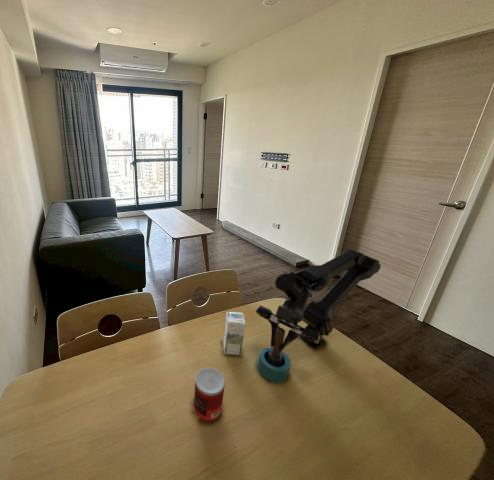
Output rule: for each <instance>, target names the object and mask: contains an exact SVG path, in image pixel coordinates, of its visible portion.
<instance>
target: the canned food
mask: <svg viewBox="0 0 494 480" xmlns="http://www.w3.org/2000/svg"><path fill="white" fill-rule="evenodd" d="M225 383H226V382H225V377H224V375H223V373H222V372H220V370H218V369H216V368H214V367H204V368H202V369H200V370H198V371H197V373H196V375H195V380H194V393H193V394H194V395H193V409H194V412H195V415H196V416H197V417H198V418H199V419H200V420H201V421H204V422H213V421H215V420H217V419H218V418H219V416H220V415H221V412H222V409H223V400H224V394H225V386H226V385H225Z"/></svg>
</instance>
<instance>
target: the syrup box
mask: <svg viewBox="0 0 494 480" xmlns="http://www.w3.org/2000/svg"><path fill="white" fill-rule="evenodd" d="M246 325H247V324H246V321H245V315H244V312H238V311H226V315H225V322H224V332H223V340H222V345H223V353H224V355H230V356H241V355H242V349H243V343H244V337H245V330H246Z"/></svg>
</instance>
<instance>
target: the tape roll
mask: <svg viewBox="0 0 494 480" xmlns="http://www.w3.org/2000/svg"><path fill="white" fill-rule="evenodd" d="M272 350H273V347H271V346H268V347H264V348H262V349H261V350H260V352H259V355H258V360H257V370H258V372H259V374H260V375H261V376H262V377H263V379H266V380H267V381H268V382H269V381H270V382H271V383H282V382H283V383H284V382H285V381H286V380H287V379H288V375H289V373H290V368H291V366H292V365H291V359H290V358H289V356H288V354H286V353H285V352H284V350H282V351H281V354H282V362H281V365H280V366H279V367H275V366H272V365H270V364H269V363H268V356H269V352H270V351H272Z"/></svg>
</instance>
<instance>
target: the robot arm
mask: <svg viewBox="0 0 494 480" xmlns="http://www.w3.org/2000/svg"><path fill="white" fill-rule="evenodd" d="M381 267H382V266H381V264H380V260H379V259H377V258H374V257H372V256H368V255H367V254H365V253H362V252H361V251H358V250H355V249H353V248H347V249H346V250H345V251H344V252H343V253H342V254H340V255H337V256H336V257H334V258H332V259H330V260H329V261H326V262H325V263H323V264H320V265H319V264H318V265H317V264H315V265H313V264H312V265H309V266H307V267H305V268H302V269H301V270H299V271H296V272H293V271H292V270H290V271H289V272H288V273H282V274H279V275H278V276H277V277H276V279H275V287H276V288H277V289H278V290H279V292H281V293H282V294H283V295H284V296H285V297H286V299H285V300H284V302H283V303H282V304H279V305H278V306H277V308H276V312H275V313H273V311H272V310H271V309H270V308H267V307H265V306H263V305H258V306H257V307H256V309H255V313H256V314H257V315H258V316H259V317H261V318H263V319H265V320H267V321H268V323H269V324H270V326H271V335H270V336H271V337H270V347H272V348H273V345H274V340H275V335H276V330H277V328H281V326H280V325H283V326H285V327H287V328H288V332H287V334H286V337H284V340H283V344H282V345H281V348H280V350H279V351H280V352H281V351H284V350H285V349H286V348H287V347H288V346H289V345H290V344H291V343H293V341H295V340H297V339H302V340H303V341H304V342H305V343H307V344H309V346H311V347H313V348H314V349H317V348H318V347H320V346H322V345H324V344H326V339H324V336H326V337H328V336H329V335H330V334H331V333H332V331H333V330H334V326H333V325H332V324H331V322H332V320H333V311H334V310H335V309H336V308H337V307H338V306H339V305H340V304H341V303H342V301H343V300H344V299H345V298H346V297H347V296H348V295H349V294H350V293H351V292H352V290H354V288H355V287H356V286H357V285H358V284H359V283H360V282H361V281H364V280H368V279H371V278H372V277H373V276H375V274H377V273H378V272H379V271H380V270H381ZM345 271H346V272H345ZM344 272H345V273H344ZM341 273H344V274H343V275H341V278H339V280H337V282H336V283H335V284H334V285H333V286H332V287H331V288H330V289H329V291H327V292H326V293H325V295H324V296H323V297H322V298H321V299H320V300H319V301H314V300H312V301H310V302H309V303H308V300H309V298H313V293H312V292H315V293H316V292H321V291H323V290H324V289H325V288H326V287H328V286H329V284H330V280H332V279H333V278H335V277H336V276H338V275H340V274H341ZM307 303H308V305H307ZM306 305H307V306H306ZM301 322H303V323H305V324H306V326H305V327H303V326H301V325H298V324H299V323H301Z"/></svg>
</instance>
